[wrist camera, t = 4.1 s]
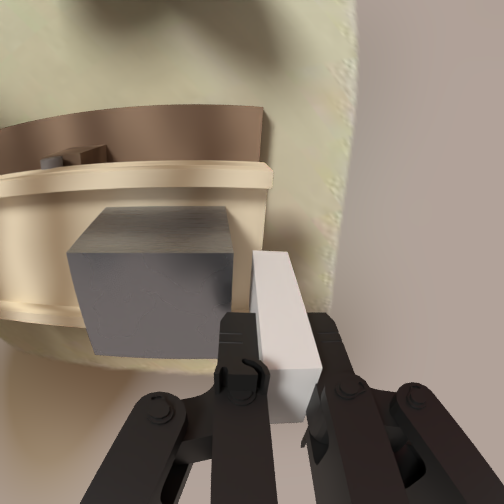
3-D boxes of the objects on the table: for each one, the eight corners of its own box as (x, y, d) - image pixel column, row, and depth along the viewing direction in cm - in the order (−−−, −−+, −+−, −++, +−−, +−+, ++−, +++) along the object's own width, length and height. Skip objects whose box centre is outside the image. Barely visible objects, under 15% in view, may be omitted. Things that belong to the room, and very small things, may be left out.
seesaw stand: (16, 278, 24) (-10, 305, 19) (-9, 131, 17) (-47, 142, 12) (247, 297, 25) (249, 338, 21) (262, 107, 18) (268, 105, 14)
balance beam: (-28, 291, 17) (-53, 322, 13) (-56, 178, 12) (-93, 197, 8) (249, 302, 20) (259, 348, 16) (261, 149, 16) (279, 164, 12)
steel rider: (118, 292, 16) (95, 354, 11) (105, 207, 14) (66, 252, 9) (222, 292, 17) (229, 358, 12) (225, 206, 14) (233, 253, 10)
